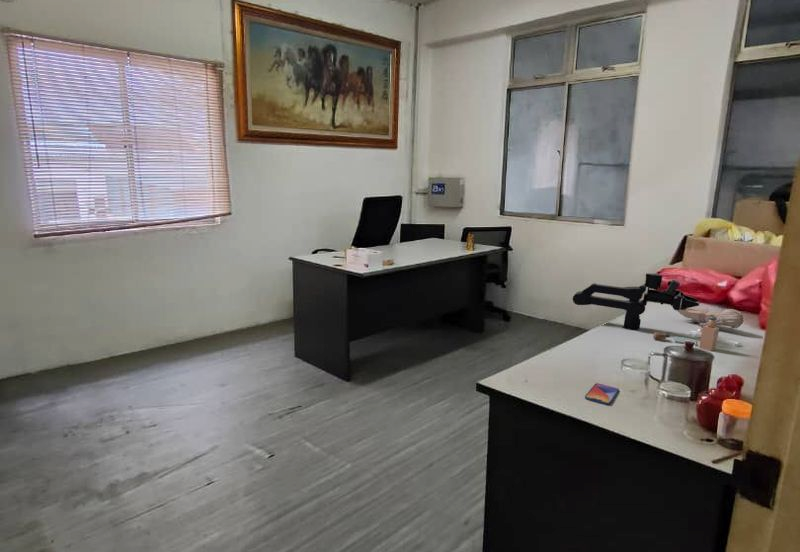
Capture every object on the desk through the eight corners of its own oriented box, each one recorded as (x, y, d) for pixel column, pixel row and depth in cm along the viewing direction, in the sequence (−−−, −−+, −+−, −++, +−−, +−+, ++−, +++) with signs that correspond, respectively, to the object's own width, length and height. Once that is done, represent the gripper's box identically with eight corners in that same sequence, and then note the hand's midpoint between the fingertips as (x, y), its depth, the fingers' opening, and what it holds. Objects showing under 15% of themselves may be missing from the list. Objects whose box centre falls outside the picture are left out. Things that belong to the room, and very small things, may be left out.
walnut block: (655, 340, 214) (656, 334, 214) (653, 338, 218) (654, 331, 218) (665, 342, 213) (666, 335, 213) (663, 339, 217) (664, 332, 217)
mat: (674, 342, 213) (675, 340, 212) (674, 337, 220) (674, 336, 220) (696, 346, 209) (696, 344, 209) (694, 341, 216) (694, 339, 216)
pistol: (745, 343, 218) (737, 348, 211) (695, 332, 233) (687, 335, 226) (746, 338, 218) (738, 342, 210) (696, 327, 233) (688, 330, 225)
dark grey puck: (654, 335, 221) (654, 335, 221) (654, 332, 227) (654, 331, 227) (669, 338, 219) (669, 337, 219) (668, 334, 224) (668, 334, 224)
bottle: (699, 347, 207) (704, 316, 204) (703, 346, 210) (708, 315, 207) (711, 351, 203) (716, 319, 201) (715, 349, 206) (721, 317, 204)
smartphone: (619, 391, 158) (619, 388, 158) (609, 407, 146) (609, 403, 146) (595, 385, 162) (595, 382, 162) (583, 399, 150) (584, 396, 150)
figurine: (671, 327, 252) (737, 339, 227) (669, 306, 248) (737, 317, 224) (682, 317, 258) (748, 329, 234) (681, 297, 254) (748, 306, 230)
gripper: (662, 282, 215) (703, 288, 208) (661, 276, 231) (699, 281, 224) (658, 307, 217) (698, 313, 210) (657, 299, 233) (695, 305, 226)
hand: (698, 302), depth 218 cm, fingers open, 9 cm apart
